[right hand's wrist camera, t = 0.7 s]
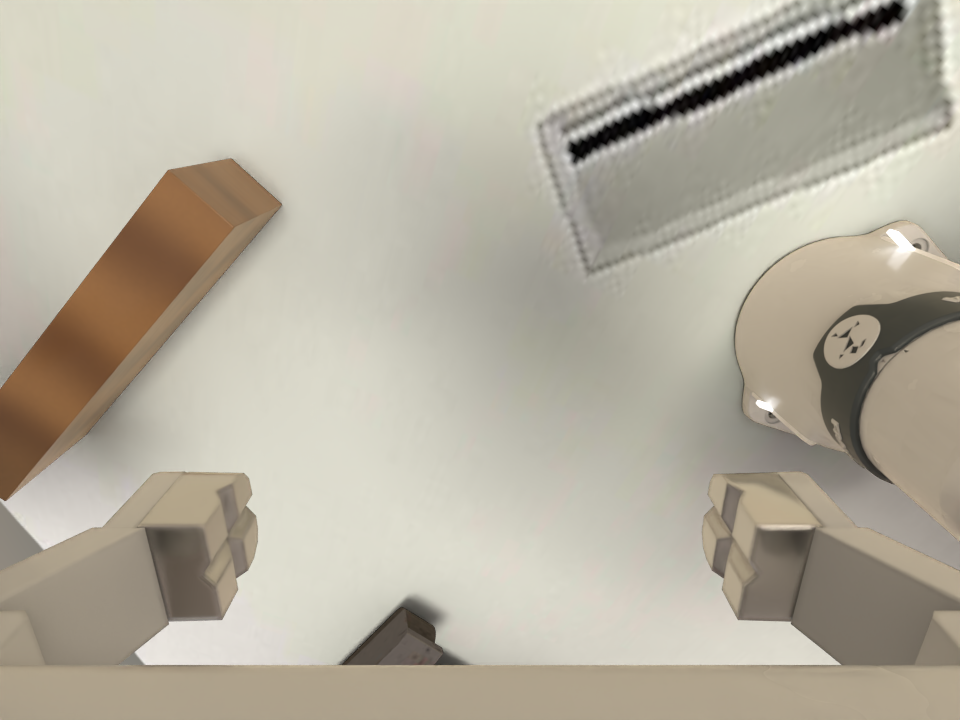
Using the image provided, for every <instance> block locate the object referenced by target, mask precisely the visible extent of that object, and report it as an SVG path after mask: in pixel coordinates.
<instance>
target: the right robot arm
mask: <svg viewBox="0 0 960 720" xmlns="http://www.w3.org/2000/svg"><path fill="white" fill-rule="evenodd" d="M913 244H915V247H913V246H912V245H913ZM735 350H736V356H737V360H738V364H739V366H740V369H741V372H742V375H743V378H744V384H745V385H744V391H743V400H742V408H743V412H744V414H745V415H746V416H747V417H748V418H750V419H751V420H752V421H754V422H756V423H759V424H762V425H765V426H768V427H772V428H775V429H778V430H781V431H784V432H787V433H791V434H794V435H797V436H798V437H799V438H801V439H802V440H803V441H804V442H806V443H807V444H809V445H811V446H813V445H816V444H819V445H821V446H824V447H827V448H830V449H834V450H837V451H841V452H845V453H847V455H849V456H850V457H851V458H852V459H853V460H854V461H855V462H856V463H858V464H859V465H860V466H862V467H863V468H866V469H868V470H869V471H870V472H871V473H873V474H874V475H875V476H877V477H878V478H880V479H882V480H884V481H887V482H889V483H891V484H895V485H896V486H897V487H898V488H900V489H901V490H902V491H903V492H904V493H905V494H906V495H907V496H909V497H910V498H911V499H912V500H913V501H914V502H915V503H917V504H918V505H919V506H920V507H921V508H922V509H923V510H924V511H926V512H927V513H928V514H929V515H930V516H931V517H932V518H933V519H935V520H936V521H937V522H938V523H939V524H940V525H941V526H942V527H944V528H945V529H946V530H947V531H948V532H949V533H950V534H951V535H953V536H954V537H955V538H956V539H957V540H958V541H960V265H959V264H957V263H954V262H951V261H949V260H948V259H947V257H946V256H945V255H944V254H943V253H942V252H941V250H940V249H939V248H938V247H937V246H936V244H935V243H934V242H933V241H932V240H931V238H930V237H929V236H928V235H927V234H926V233H925V231H924V230H923V229H922V228H921V227H920V226H918V225H916V224H914V223H912V222H910V221H898V222H894V223H891V224H889V225H886V226H884V227H882V228H880V229H877V230H875V231H873V232H871V233H869V234H865V235H860V236H847V237H835V238H829V239H824V240H821V241H817V242H814V243H811V244H809V245H806V246H804V247H802V248H800V249H798V250H796V251H794V252H792V253H790V254H789V255H787V256H786V257H784V258H783V259H781V260H780V261H779V262H777V263H776V264H775V265H774V266H773V267H771V268H770V269H769V270H768V271H767V272H766V273H765V274H764V275H763V276H762V278H761V279H760V280H759V281H758V282H757V284H756V285H755V286H754V288H753V289H752V291H751V292H750V294H749V295H748V297H747V299H746V301H745V303H744V305H743V307H742V309H741V312H740V315H739V318H738V322H737V326H736V333H735ZM769 412H771V413H772V414H769ZM768 414H769V415H768ZM251 496H252V490H251V485H250V481H249V478H248V477H247V476H246V475H245V474H244V473H218V472H158V473H154V474H152V475H151V476H150V477H149V478H148V479H147V481H146V482H145V483H144V484H143V485H142V486H141V487H140V488H139V489H138V490H137V491H136V492H135V493H134V494H133V495H132V496H131V497H130V499H129V500H128V501H127V502H126V503H125V504H124V505H123V506H122V507H121V508H120V509H119V510H118V511H117V512H116V513H115V514H114V515H113V517H112V518H111V519H110V520H109V521H108V522H107V523H106V524H105V525H104V526H103V527H102V528H91V529H89V530H86V531H84V532H82V533H80V534H78V535H76V536H74V537H71V538H69V539H67V540H65V541H63V542H61V543H59V544H56V545H54V546H52V547H50V548H48V549H46V550H44V551H41V552H39V553H37V554H35V555H33V556H31V557H28V558H26V559H24V560H22V561H20V562H18V563H16V564H13V565H11V566H9V567H7V568H5V569H3V570H1V571H0V720H960V571H959V570H957V569H955V568H953V567H951V566H948V565H946V564H944V563H942V562H940V561H938V560H936V559H933V558H931V557H929V556H927V555H925V554H923V553H921V552H918V551H916V550H914V549H912V548H910V547H908V546H906V545H904V544H901V543H899V542H897V541H895V540H893V539H891V538H889V537H886V536H884V535H882V534H880V533H878V532H876V531H874V530H871V529H869V528H858V527H857V526H856V525H855V524H854V523H853V522H852V521H851V520H850V519H849V518H848V516H847V515H846V514H845V513H844V512H843V511H842V510H841V509H840V508H839V507H838V506H837V505H836V504H835V503H834V502H833V501H832V500H831V498H830V497H829V496H828V495H827V494H826V493H825V492H824V491H823V490H822V489H821V488H820V487H819V486H818V485H817V484H816V483H815V481H814V480H813V479H812V478H811V477H810V476H809V475H808V474H806V473H803V472H801V471H795V472H772V473H735V474H714V475H713V477H712V479H711V481H710V484H709V490H708V496H709V498H710V499H711V501H712V503H713V504H714V506H713V507H712V508H711V509H710V510H709V511H708V512H707V513H706V514H705V515H704V520H703V527H702V540H703V549H704V552H705V556H706V559H707V561H708V563H709V565H710V567H711V569H712V571H714V572H715V573H717V574H718V575H720V576H721V577H723V578H724V581H723V586H722V591H723V593H724V594H725V596H726V598H727V600H728V602H729V604H730V606H731V608H732V610H733V612H734V613H735V615H736V617H737V619H738V620H756V621H792V622H791V624H792V625H793V626H794V627H796V628H797V629H798V630H799V631H800V632H802V633H803V634H804V635H805V636H807V637H808V638H809V639H810V640H812V641H813V642H814V643H815V644H817V645H818V646H819V647H820V648H822V649H823V650H824V651H825V652H826V653H828V654H829V655H830V656H831V657H833V658H834V659H835V660H836V661H838V662H839V663H840V664H841V665H119V664H120V663H121V662H122V661H124V660H125V659H126V658H127V657H129V656H130V655H131V654H132V653H134V652H135V651H136V650H137V649H139V648H140V647H141V646H142V645H144V644H145V643H146V642H147V641H149V640H150V639H151V638H152V637H154V636H155V635H156V634H157V633H159V632H160V631H161V630H162V629H164V628H165V627H166V626H167V625H168V624H169V622H168V621H203V620H222V619H223V617H224V615H225V613H226V612H227V610H228V608H229V606H230V604H231V602H232V600H233V598H234V596H235V594H236V593H237V591H238V586H237V581H236V578H237V577H239V576H240V575H242V574H243V573H245V572H246V571H248V569H249V567H250V565H251V563H252V561H253V559H254V556H255V552H256V547H257V543H258V526H257V519H256V515H255V514H254V513H253V512H252V511H251V510H250V509H249V508H248V507H247V506H246V504H247V503H248V501H249V499H250V498H251Z"/></svg>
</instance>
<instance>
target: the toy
mask: <svg viewBox="0 0 960 720" xmlns="http://www.w3.org/2000/svg"><path fill="white" fill-rule="evenodd" d="M435 637H436V631H435V628H434V626H433V625H431V624H429V623H428V622H426V621H425V620H423V619H421V618H420V617H418V616H416V615H415V614H413V613H411V612H410V611H408V610H407V609H405V608H403V607H401V608H399V609H398V610H397V611H396V612H395V613H394V614H393V615H392V616H391V617H390V618H389V619H388V620H387V621H386V622H385V623H384V624H383V625H382V626H381V627H380V628H379V629H378V630H377V631H376V632H375V633H374V634H373V635H372V636H371V637H370V638H369V639H368V640H367V641H366V642H365V643H364V644H363V645H362V646H361V647H359V648H358V649H357V650H356V651H355V652H354V653H353V654H352V655H351V656H350V657H349V658H348V659H347V660H346V661H345V662H344V663H343V664H342V665H435V663H436V662H437V661H438V660H439V658H440V657H441V656H442V655H443V650H442V648H441V647H440V646H438V645H436V644H435Z"/></svg>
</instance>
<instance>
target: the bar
mask: <svg viewBox="0 0 960 720" xmlns="http://www.w3.org/2000/svg"><path fill="white" fill-rule="evenodd" d="M281 206H282V204H281V203H280V202H279V201H278V200H276V199H275V198H274V197H273V196H272V195H271V194H270V193H269V192H268V191H267V190H265V189H264V188H263V187H262V186H261V185H260V184H259V183H258V182H257V181H256V180H254V179H253V178H252V177H251V176H250V175H249V174H248V173H247V172H246V171H244V170H243V169H242V168H241V167H240V166H239V165H238V164H237V163H236V162H235V161H233V160H232V159H231V158H230V159H225V160H220V161H214V162H209V163H203V164H198V165H192V166H187V167H182V168H176V169H171V170H168V171H167V172H166V173H165V175H164V176H163V177H162V179H161V180H160V181H159V182H158V184H157V185H156V186H155V188H154V189H153V190H152V192H151V193H150V194H149V196H148V197H147V198H146V199H145V201H144V202H143V203H142V205H141V206H140V207H139V209H138V210H137V211H136V212H135V214H134V215H133V216H132V218H131V219H130V220H129V222H128V223H127V224H126V226H125V227H124V228H123V229H122V231H121V232H120V233H119V235H118V236H117V237H116V239H115V240H114V241H113V243H112V244H111V245H110V246H109V248H108V249H107V250H106V252H105V253H104V254H103V256H102V257H101V258H100V260H99V261H98V262H97V263H96V265H95V266H94V267H93V269H92V270H91V271H90V273H89V274H88V275H87V276H86V278H85V279H84V280H83V282H82V283H81V284H80V286H79V287H78V288H77V290H76V291H75V292H74V293H73V295H72V296H71V297H70V299H69V300H68V301H67V303H66V304H65V305H64V307H63V308H62V309H61V310H60V312H59V313H58V314H57V316H56V317H55V318H54V320H53V321H52V322H51V323H50V325H49V326H48V327H47V329H46V330H45V331H44V333H43V334H42V335H41V337H40V338H39V339H38V340H37V342H36V343H35V344H34V346H33V347H32V348H31V350H30V351H29V352H28V354H27V355H26V356H25V357H24V359H23V360H22V361H21V363H20V364H19V365H18V367H17V368H16V369H15V371H14V372H13V373H12V374H11V376H10V377H9V378H8V380H7V381H6V382H5V384H4V385H3V386H2V387H1V389H0V498H1V499H3V500H4V501H7V500H8V499H9V498H10V497H11V496H13V495H14V494H15V493H16V492H17V491H19V490H20V489H21V488H22V487H23V486H25V485H26V484H27V483H28V482H30V481H31V480H32V479H33V478H34V477H36V476H37V475H38V474H39V473H40V472H42V471H43V470H44V469H45V468H47V467H48V466H49V465H50V464H51V463H53V462H54V461H55V460H56V459H57V458H59V457H60V456H61V455H62V454H63V453H65V452H66V451H67V450H68V449H70V448H71V447H72V446H73V445H74V444H76V443H77V442H78V441H79V440H80V439H82V438H83V437H84V436H85V435H86V434H87V433H88V432H89V431H90V429H91V428H92V427H93V426H94V425H95V424H96V422H97V421H98V420H99V419H100V418H101V417H102V415H103V414H104V413H105V412H106V411H107V410H108V408H109V407H110V406H111V405H112V404H113V402H114V401H115V400H116V399H117V398H118V397H119V395H120V394H121V393H122V392H123V391H124V390H125V388H126V387H127V386H128V385H129V384H130V383H131V381H132V380H133V379H134V378H135V377H136V376H137V374H138V373H139V372H140V371H141V370H142V369H143V367H144V366H145V365H146V364H147V363H148V361H149V360H150V359H151V358H152V357H153V356H154V354H155V353H156V352H157V351H158V350H159V349H160V347H161V346H162V345H163V344H164V343H165V342H166V340H167V339H168V338H169V337H170V336H171V335H172V333H173V332H174V331H175V330H176V329H177V327H178V326H179V325H180V324H181V323H182V322H183V320H184V319H185V318H186V317H187V316H188V315H189V313H190V312H191V311H192V310H193V309H194V308H195V306H196V305H197V304H198V303H199V302H200V301H201V299H202V298H203V297H204V296H205V295H206V294H207V292H208V291H209V290H210V289H211V288H212V286H213V285H214V284H215V283H216V282H217V281H218V279H219V278H220V277H221V276H222V275H223V274H224V272H225V271H226V270H227V269H228V268H229V267H230V265H231V264H232V263H233V262H234V261H235V260H236V258H237V257H238V256H239V255H240V254H241V252H242V251H243V250H244V249H245V248H246V247H247V245H248V244H249V243H250V242H251V241H252V240H253V238H254V237H255V236H256V235H257V234H258V233H259V231H260V230H261V229H262V228H263V227H264V226H265V224H266V223H267V222H268V221H269V220H270V218H271V217H272V216H273V215H274V214H275V213H276V211H277V210H278V209H279V208H280V207H281Z"/></svg>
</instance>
